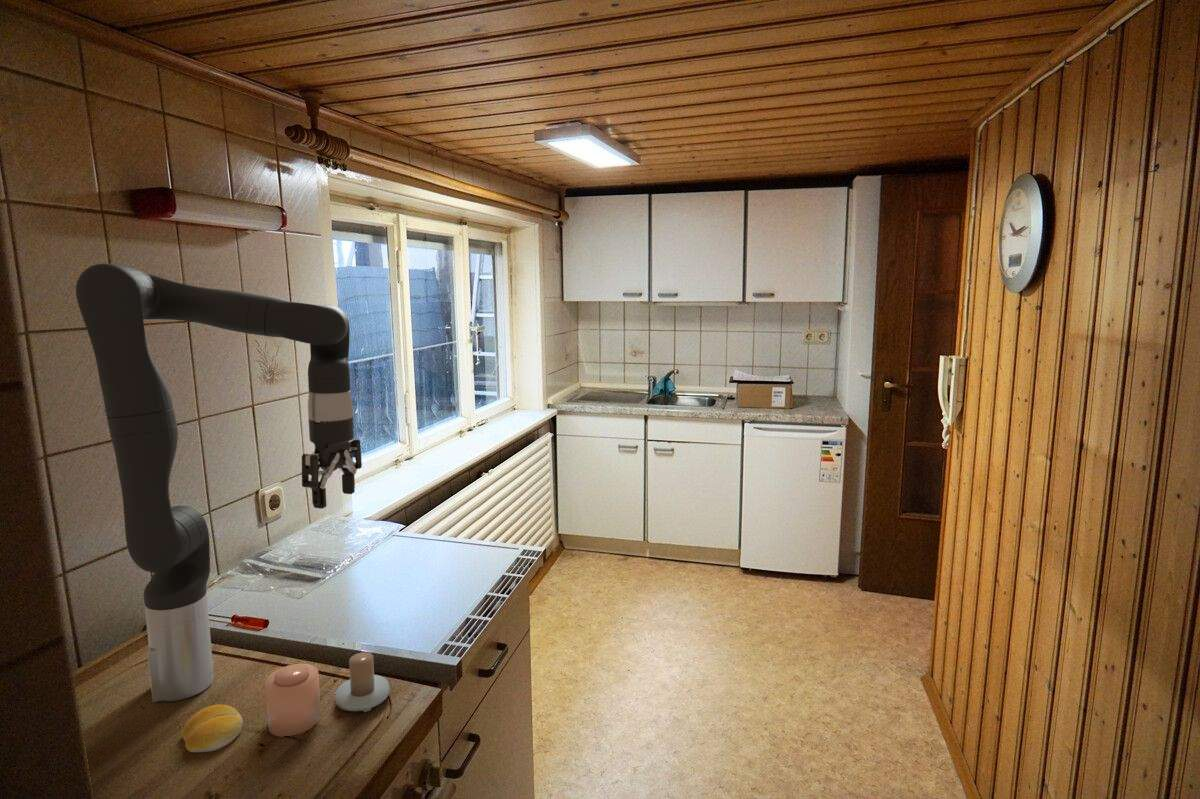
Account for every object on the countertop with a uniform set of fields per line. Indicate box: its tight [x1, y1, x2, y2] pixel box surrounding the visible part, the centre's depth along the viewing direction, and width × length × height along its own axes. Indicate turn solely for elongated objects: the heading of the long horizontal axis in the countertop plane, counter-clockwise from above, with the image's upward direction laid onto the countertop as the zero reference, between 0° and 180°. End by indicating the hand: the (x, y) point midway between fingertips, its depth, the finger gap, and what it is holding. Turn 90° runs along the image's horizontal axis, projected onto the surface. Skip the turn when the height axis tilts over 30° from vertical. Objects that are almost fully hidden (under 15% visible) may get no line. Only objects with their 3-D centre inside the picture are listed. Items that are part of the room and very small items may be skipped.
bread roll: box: [182, 704, 244, 753], centre depth 103 cm, size 8×9×4 cm
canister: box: [264, 663, 321, 738], centre depth 107 cm, size 8×8×9 cm
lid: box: [334, 651, 390, 713], centre depth 112 cm, size 9×9×8 cm
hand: (334, 500), depth 119 cm, fingers open, 8 cm apart
